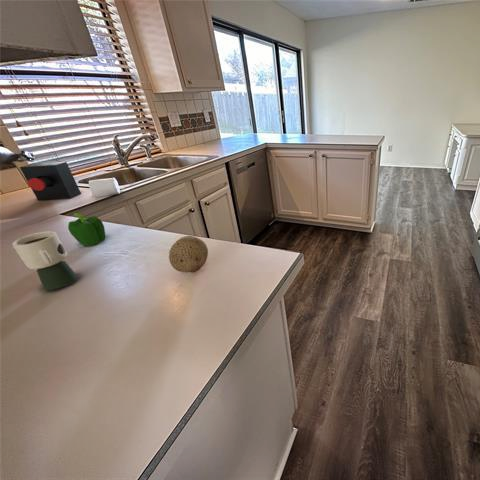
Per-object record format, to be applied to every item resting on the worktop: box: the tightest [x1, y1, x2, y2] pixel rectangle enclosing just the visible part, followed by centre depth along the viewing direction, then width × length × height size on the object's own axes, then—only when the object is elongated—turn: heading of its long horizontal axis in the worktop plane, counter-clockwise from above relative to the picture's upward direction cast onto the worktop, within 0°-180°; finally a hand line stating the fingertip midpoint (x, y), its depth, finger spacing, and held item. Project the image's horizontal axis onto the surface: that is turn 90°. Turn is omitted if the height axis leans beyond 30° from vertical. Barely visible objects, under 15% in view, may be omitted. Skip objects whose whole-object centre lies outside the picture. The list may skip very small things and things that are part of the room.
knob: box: [27, 177, 51, 191], centre depth 120 cm, size 6×6×6 cm
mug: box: [88, 177, 121, 198], centre depth 130 cm, size 12×10×8 cm
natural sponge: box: [168, 235, 209, 274], centre depth 66 cm, size 9×9×10 cm
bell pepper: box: [67, 212, 106, 247], centre depth 82 cm, size 8×8×10 cm
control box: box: [19, 161, 82, 202], centre depth 126 cm, size 8×14×16 cm, turn 101°
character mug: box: [12, 230, 78, 291], centre depth 62 cm, size 11×7×13 cm, turn 51°
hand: (19, 161), depth 112 cm, fingers open, 8 cm apart
